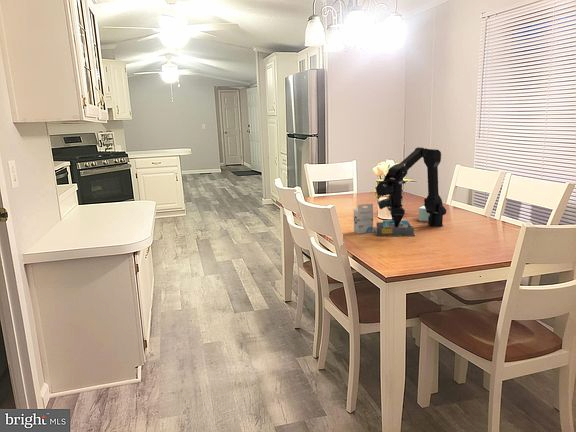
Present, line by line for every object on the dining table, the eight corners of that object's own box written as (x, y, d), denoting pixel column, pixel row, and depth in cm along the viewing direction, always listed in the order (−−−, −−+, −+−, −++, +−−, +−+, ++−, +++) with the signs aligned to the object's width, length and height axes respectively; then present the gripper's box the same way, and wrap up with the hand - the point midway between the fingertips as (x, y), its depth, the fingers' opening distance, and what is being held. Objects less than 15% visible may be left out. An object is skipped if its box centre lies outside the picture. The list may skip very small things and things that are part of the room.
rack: (409, 228, 225) (410, 221, 224) (414, 236, 211) (415, 228, 210) (374, 228, 227) (374, 221, 226) (376, 235, 213) (376, 228, 212)
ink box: (368, 230, 224) (369, 201, 221) (373, 232, 219) (373, 203, 216) (353, 231, 222) (353, 202, 219) (357, 234, 217) (357, 204, 214)
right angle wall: (440, 223, 235) (441, 210, 233) (418, 221, 242) (418, 208, 240) (447, 219, 244) (448, 206, 242) (426, 217, 251) (426, 204, 249)
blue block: (407, 232, 215) (407, 220, 214) (407, 233, 213) (408, 220, 212) (382, 232, 216) (382, 220, 215) (382, 233, 215) (382, 220, 214)
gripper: (377, 190, 221) (376, 220, 224) (380, 197, 203) (379, 230, 206) (399, 190, 219) (399, 220, 223) (405, 196, 201) (404, 230, 205)
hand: (395, 225), depth 214 cm, fingers open, 9 cm apart
